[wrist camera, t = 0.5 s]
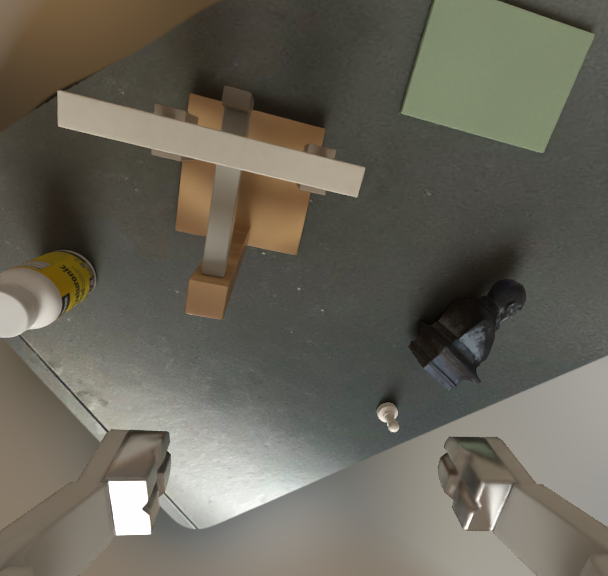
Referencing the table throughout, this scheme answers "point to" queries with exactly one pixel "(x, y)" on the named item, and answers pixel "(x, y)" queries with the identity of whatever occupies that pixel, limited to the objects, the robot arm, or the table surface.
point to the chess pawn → (388, 415)
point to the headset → (208, 144)
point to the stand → (238, 199)
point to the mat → (494, 71)
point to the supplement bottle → (43, 290)
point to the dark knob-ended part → (466, 333)
